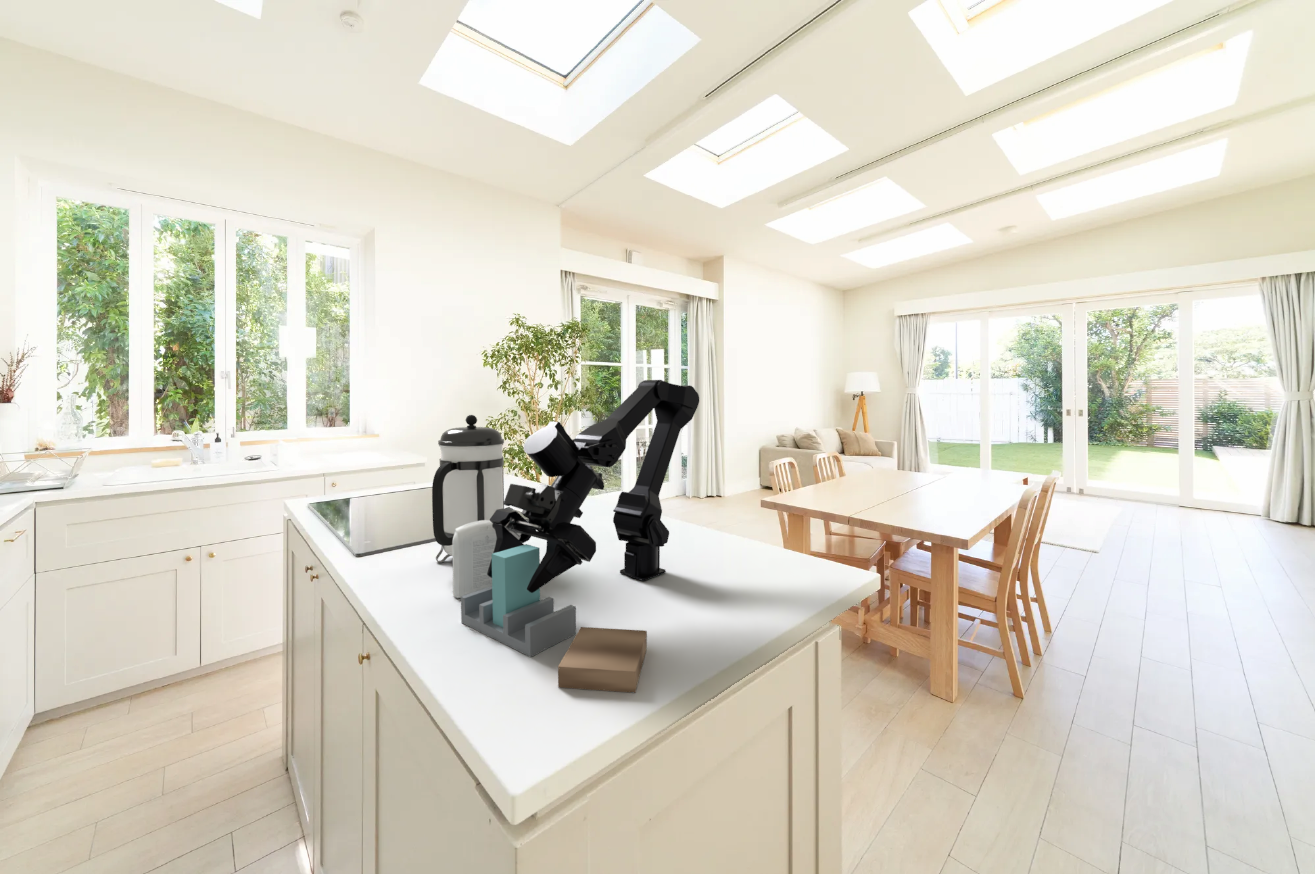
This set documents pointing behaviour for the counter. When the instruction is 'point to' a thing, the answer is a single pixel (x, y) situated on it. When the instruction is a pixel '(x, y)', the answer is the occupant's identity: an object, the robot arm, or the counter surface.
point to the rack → (520, 622)
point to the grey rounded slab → (472, 557)
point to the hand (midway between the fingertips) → (508, 583)
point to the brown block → (603, 660)
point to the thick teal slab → (513, 580)
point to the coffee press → (466, 480)
